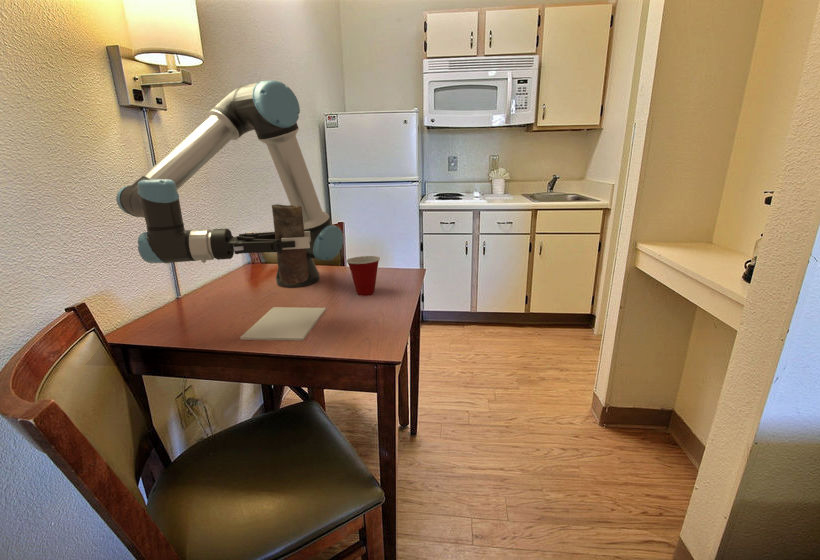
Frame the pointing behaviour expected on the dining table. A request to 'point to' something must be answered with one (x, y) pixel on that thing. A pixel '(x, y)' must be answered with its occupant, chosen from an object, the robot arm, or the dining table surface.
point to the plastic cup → (364, 273)
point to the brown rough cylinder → (290, 260)
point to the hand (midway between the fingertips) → (309, 239)
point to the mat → (284, 324)
